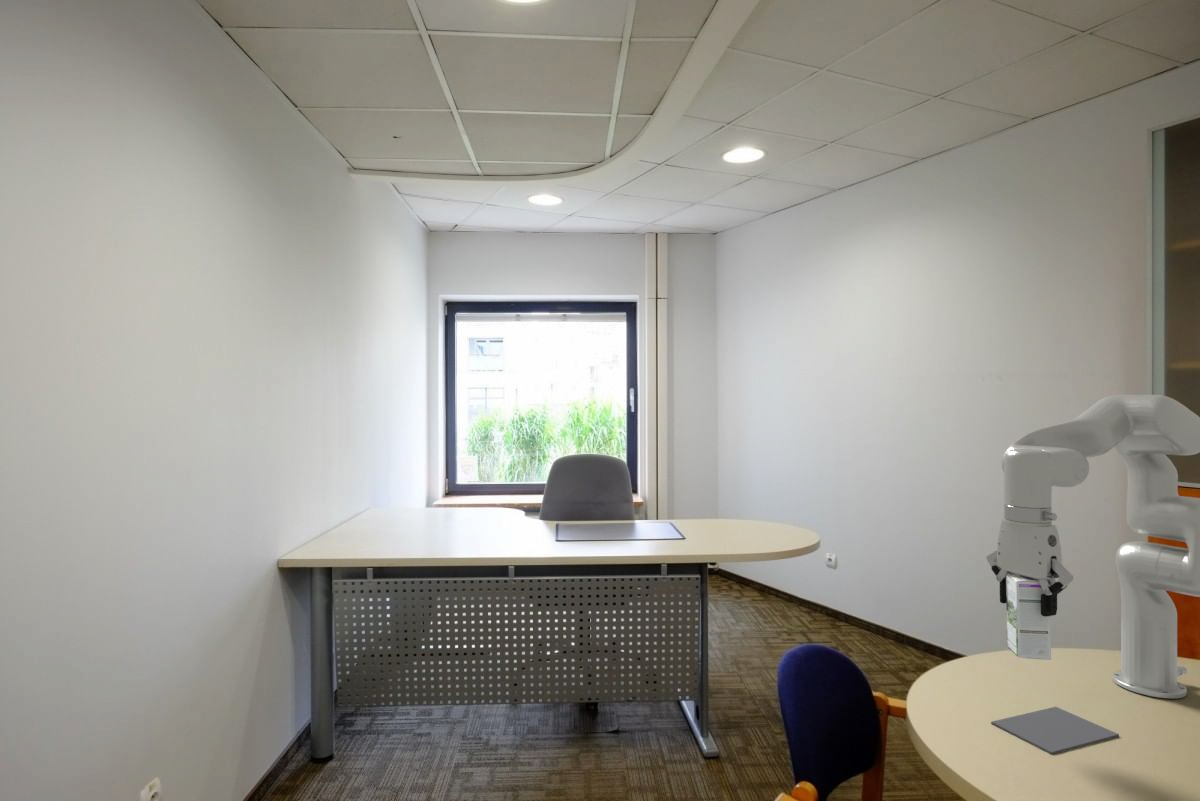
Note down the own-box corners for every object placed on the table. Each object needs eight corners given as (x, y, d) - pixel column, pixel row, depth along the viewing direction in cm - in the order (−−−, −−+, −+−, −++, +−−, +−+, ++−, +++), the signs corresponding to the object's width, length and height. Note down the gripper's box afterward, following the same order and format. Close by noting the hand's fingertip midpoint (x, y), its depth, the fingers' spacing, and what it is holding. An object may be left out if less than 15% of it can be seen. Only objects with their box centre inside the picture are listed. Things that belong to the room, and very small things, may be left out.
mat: (1055, 708, 137) (1055, 706, 137) (1118, 736, 126) (1118, 734, 126) (991, 723, 131) (991, 721, 131) (1051, 754, 119) (1051, 752, 119)
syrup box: (1052, 660, 122) (1052, 581, 122) (1016, 658, 124) (1016, 579, 124) (1039, 649, 128) (1038, 573, 128) (1004, 646, 129) (1004, 571, 129)
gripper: (1088, 521, 119) (1088, 620, 119) (1000, 506, 135) (1000, 594, 135) (1059, 524, 116) (1058, 625, 116) (972, 509, 133) (972, 597, 133)
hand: (1027, 608), depth 126 cm, fingers closed on syrup box, 7 cm apart
